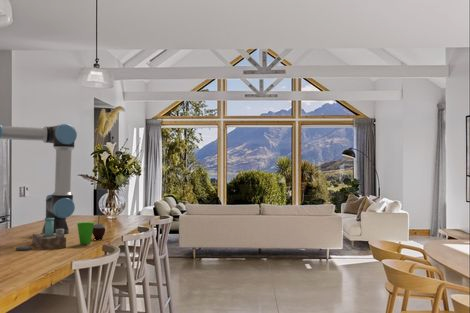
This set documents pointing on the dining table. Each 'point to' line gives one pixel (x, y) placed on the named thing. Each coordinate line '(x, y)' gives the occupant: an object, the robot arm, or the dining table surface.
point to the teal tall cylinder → (49, 227)
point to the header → (50, 240)
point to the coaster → (23, 248)
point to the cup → (85, 232)
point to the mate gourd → (98, 230)
